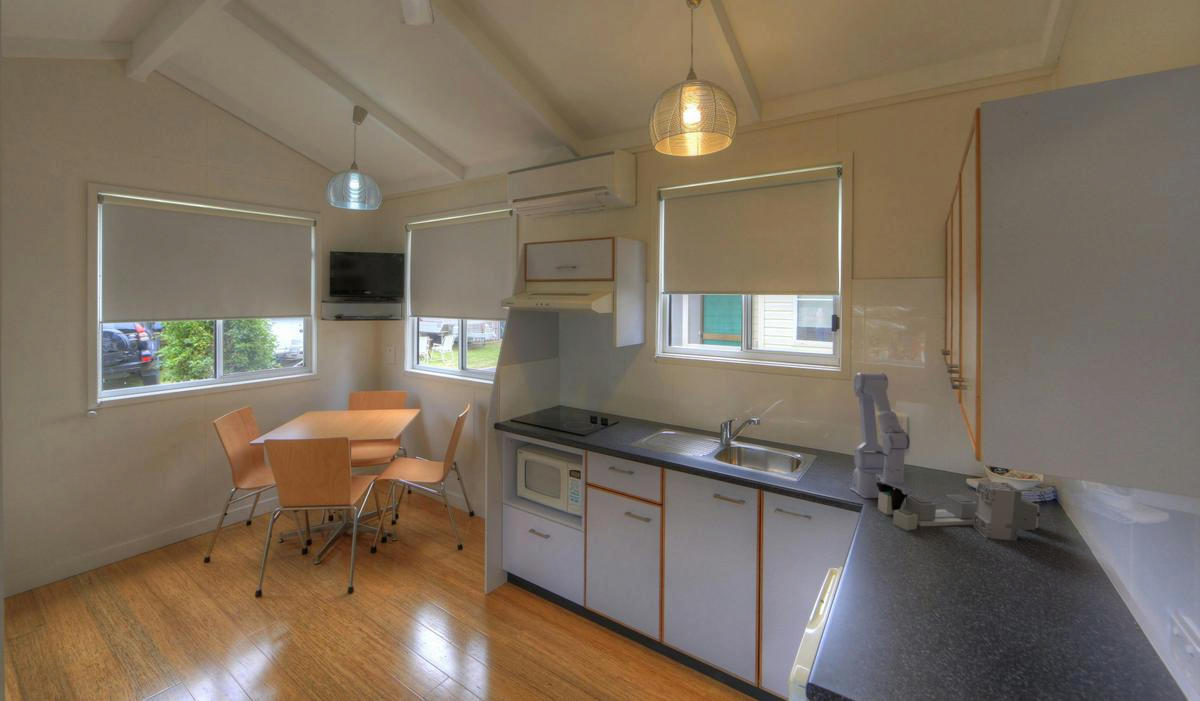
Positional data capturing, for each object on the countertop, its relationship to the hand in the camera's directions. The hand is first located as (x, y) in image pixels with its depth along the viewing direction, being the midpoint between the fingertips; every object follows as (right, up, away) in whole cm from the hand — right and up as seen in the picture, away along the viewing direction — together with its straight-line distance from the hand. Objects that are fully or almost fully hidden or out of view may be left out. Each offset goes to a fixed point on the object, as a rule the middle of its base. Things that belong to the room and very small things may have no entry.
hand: (890, 507), depth 174 cm
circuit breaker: (+26, -4, -16) cm, 31 cm away
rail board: (+13, -2, -5) cm, 14 cm away
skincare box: (+36, -3, -9) cm, 37 cm away
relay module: (0, -1, 0) cm, 1 cm away
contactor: (-2, -3, -11) cm, 12 cm away
